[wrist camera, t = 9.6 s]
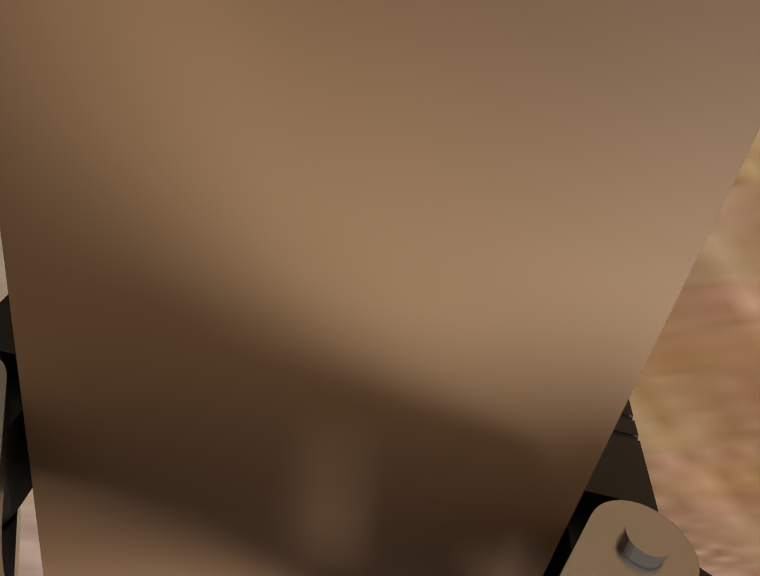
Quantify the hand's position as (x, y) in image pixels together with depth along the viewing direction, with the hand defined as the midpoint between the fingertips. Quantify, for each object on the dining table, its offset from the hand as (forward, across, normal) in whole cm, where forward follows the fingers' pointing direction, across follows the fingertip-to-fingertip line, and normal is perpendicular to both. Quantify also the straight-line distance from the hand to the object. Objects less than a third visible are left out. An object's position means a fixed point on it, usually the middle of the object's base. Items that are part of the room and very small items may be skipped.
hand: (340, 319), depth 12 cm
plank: (+1, 0, 0) cm, 1 cm away
